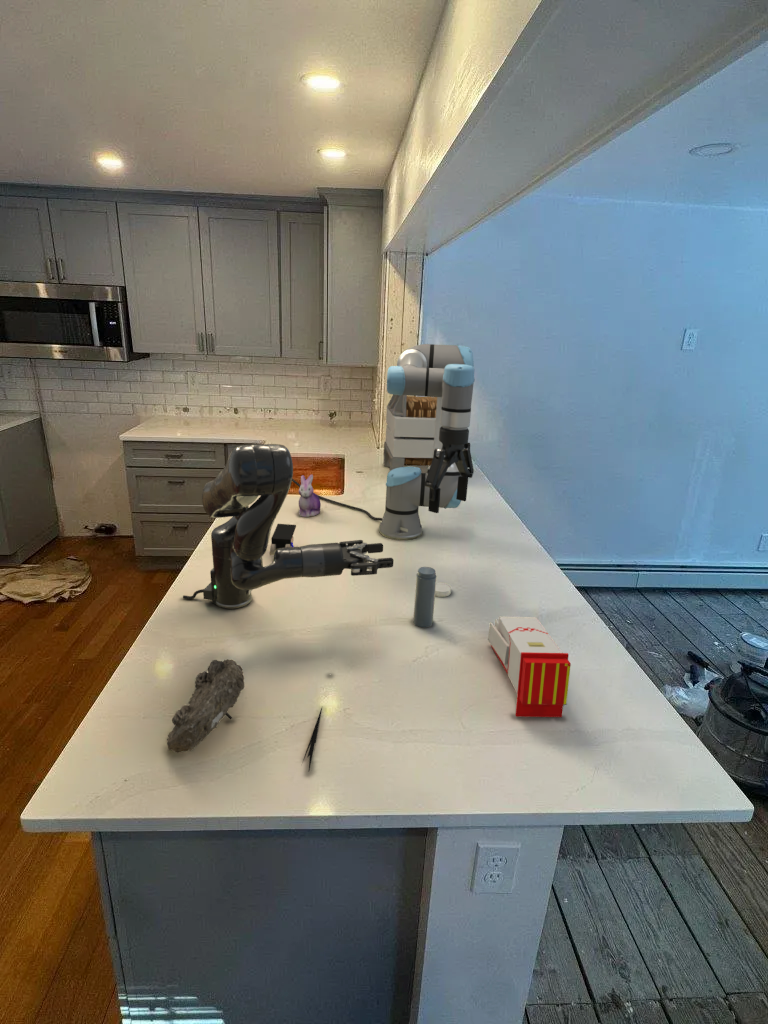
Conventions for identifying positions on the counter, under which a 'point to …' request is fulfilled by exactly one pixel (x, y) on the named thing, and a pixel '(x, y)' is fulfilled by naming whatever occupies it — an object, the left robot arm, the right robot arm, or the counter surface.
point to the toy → (531, 665)
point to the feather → (313, 740)
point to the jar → (424, 597)
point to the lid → (442, 589)
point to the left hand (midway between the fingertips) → (387, 554)
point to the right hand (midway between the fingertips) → (447, 505)
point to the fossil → (206, 705)
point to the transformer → (409, 431)
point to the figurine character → (282, 537)
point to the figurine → (308, 498)
